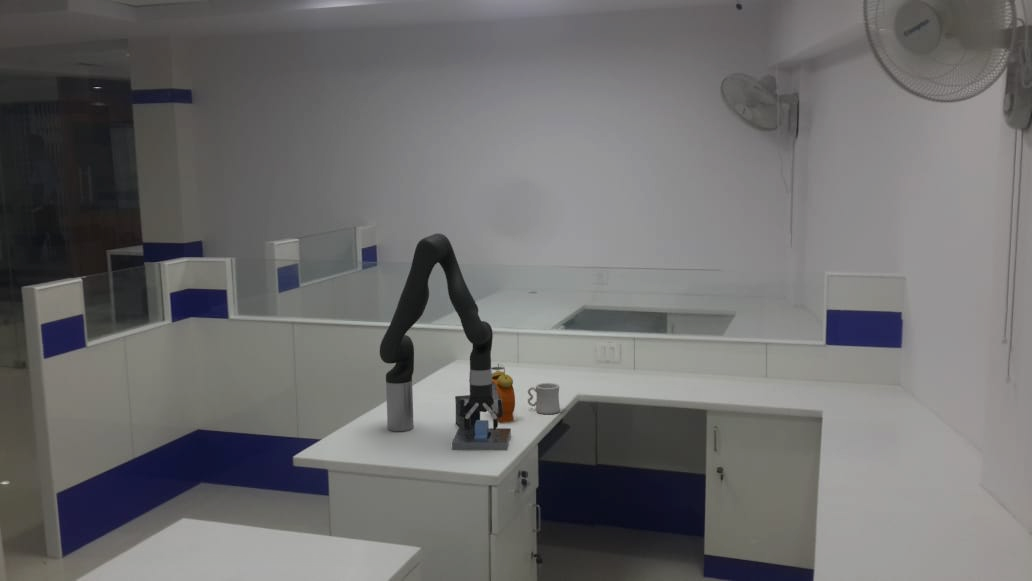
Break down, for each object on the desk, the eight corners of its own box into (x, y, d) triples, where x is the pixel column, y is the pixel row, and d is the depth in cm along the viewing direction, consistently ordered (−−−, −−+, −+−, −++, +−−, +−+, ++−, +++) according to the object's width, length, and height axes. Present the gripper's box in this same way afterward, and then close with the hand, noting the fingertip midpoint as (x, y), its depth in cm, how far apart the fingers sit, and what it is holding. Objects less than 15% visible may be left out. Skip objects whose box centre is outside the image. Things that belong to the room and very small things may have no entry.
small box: (481, 429, 304) (481, 400, 302) (464, 432, 301) (463, 402, 300) (472, 422, 313) (471, 394, 312) (455, 424, 311) (454, 395, 310)
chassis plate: (458, 435, 298) (458, 428, 297) (510, 435, 296) (510, 428, 296) (452, 449, 282) (451, 442, 282) (506, 450, 281) (506, 442, 280)
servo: (477, 438, 294) (477, 418, 293) (489, 438, 293) (489, 418, 292) (474, 446, 285) (474, 426, 284) (486, 446, 284) (486, 426, 283)
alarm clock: (487, 414, 323) (486, 362, 320) (503, 413, 325) (502, 360, 322) (500, 424, 310) (499, 369, 308) (516, 422, 312) (515, 368, 310)
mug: (562, 409, 329) (561, 383, 328) (556, 415, 320) (556, 389, 319) (530, 407, 332) (530, 381, 331) (524, 413, 324) (524, 387, 322)
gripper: (503, 379, 290) (504, 426, 292) (461, 379, 291) (462, 425, 293) (501, 384, 282) (502, 432, 284) (458, 384, 283) (459, 432, 285)
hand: (481, 429), depth 288 cm, fingers open, 8 cm apart
